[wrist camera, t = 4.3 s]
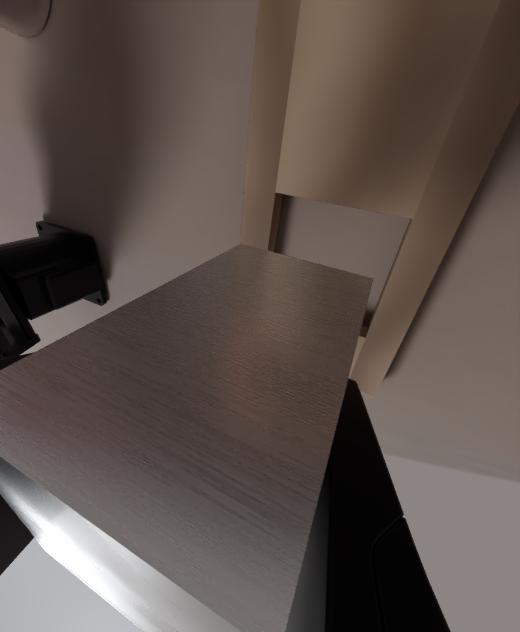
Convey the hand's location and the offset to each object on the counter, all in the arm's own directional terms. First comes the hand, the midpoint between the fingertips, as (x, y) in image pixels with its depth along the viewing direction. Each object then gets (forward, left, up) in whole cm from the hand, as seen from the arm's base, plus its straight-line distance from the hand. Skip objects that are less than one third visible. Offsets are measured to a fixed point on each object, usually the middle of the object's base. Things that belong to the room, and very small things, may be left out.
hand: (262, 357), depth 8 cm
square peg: (0, 0, -3) cm, 3 cm away
